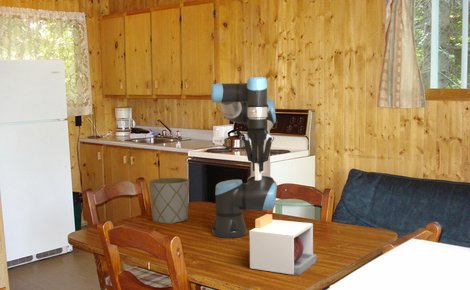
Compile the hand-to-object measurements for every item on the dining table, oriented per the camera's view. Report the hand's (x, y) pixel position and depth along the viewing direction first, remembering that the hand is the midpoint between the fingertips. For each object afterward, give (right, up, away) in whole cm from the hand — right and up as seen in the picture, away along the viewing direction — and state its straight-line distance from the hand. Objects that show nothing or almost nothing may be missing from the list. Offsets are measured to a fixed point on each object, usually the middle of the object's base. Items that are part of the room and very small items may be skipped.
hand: (258, 179), depth 206 cm
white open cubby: (+8, -29, -15) cm, 34 cm away
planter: (-41, -24, +57) cm, 74 cm away
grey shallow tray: (+10, -29, -16) cm, 35 cm away
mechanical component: (+10, -28, -16) cm, 34 cm away
